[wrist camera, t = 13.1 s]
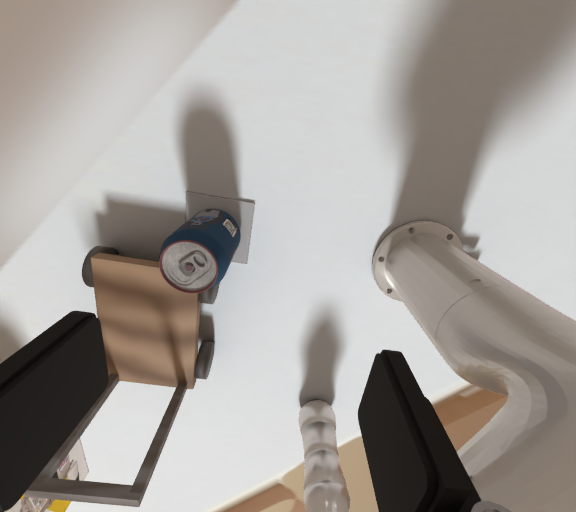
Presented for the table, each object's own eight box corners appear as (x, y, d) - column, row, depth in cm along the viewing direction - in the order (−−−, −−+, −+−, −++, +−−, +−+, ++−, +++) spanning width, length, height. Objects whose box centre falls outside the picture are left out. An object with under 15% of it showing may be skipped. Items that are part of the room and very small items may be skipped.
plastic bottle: (292, 402, 51) (295, 548, 33) (324, 389, 50) (347, 535, 32) (307, 422, 54) (317, 571, 35) (338, 411, 52) (367, 559, 34)
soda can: (213, 262, 40) (184, 309, 29) (181, 224, 37) (137, 259, 26) (252, 238, 38) (238, 277, 27) (221, 196, 36) (192, 221, 25)
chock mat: (254, 202, 37) (254, 203, 36) (247, 263, 40) (246, 264, 40) (186, 191, 36) (186, 191, 36) (185, 253, 39) (184, 254, 39)
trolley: (107, 239, 39) (-68, 334, 20) (222, 256, 40) (162, 363, 21) (117, 349, 46) (-2, 494, 27) (213, 361, 47) (163, 509, 28)
